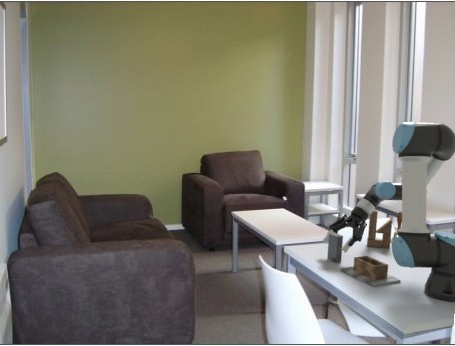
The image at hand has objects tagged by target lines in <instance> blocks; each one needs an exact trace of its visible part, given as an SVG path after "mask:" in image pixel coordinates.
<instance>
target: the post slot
mask: <svg viewBox="0 0 455 346" xmlns="http://www.w3.org/2000/svg"><path fill="white" fill-rule="evenodd" d="M388 271H389V264H388V263H386V262H384V261H380V260H378V259H376V258H373V257H371V256H369V255H363V256H356V257H354V259H353V266H349V267H341V268H340V272H343V273H345V274H346V275H348V276H351V277H353V278H354V279H357V280H359V281H361V282H362V283H365V284H367V285H368V286H370V287H373V288H375V287H381V286H387V285H392V284H398V283H401V281H402V280H401V279H400V278H398V277H395V276H394V275H391V274H389V273H388Z"/></svg>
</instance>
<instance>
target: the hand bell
mask: <svg viewBox="0 0 455 346" xmlns="http://www.w3.org/2000/svg"><path fill="white" fill-rule="evenodd" d="M396 222H397V230H395V231H394V233H393V236H392V237H391V241H390V244H392V239H393V237H394V236H396V235H398V230H399V229H400V228H401V226H402V211H399V212H398V213H397V217H396Z"/></svg>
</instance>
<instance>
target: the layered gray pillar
mask: <svg viewBox="0 0 455 346" xmlns="http://www.w3.org/2000/svg"><path fill="white" fill-rule="evenodd" d="M343 241H344V235H342V234H339V233H336V232H335V233H329V241H328V243H327V256H326V257H327V258H326V259H327V260H329V261H331V262H333V263H335V264H339V263H342V256H343V255H342V254H343V250H342V249H341V248H342V247H343V243H344V242H343Z"/></svg>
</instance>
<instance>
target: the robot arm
mask: <svg viewBox="0 0 455 346" xmlns="http://www.w3.org/2000/svg"><path fill="white" fill-rule="evenodd" d="M392 150H393V152H394V153H396V154H397V155H398V156H397V157H398V160H400V162H401V163H402V167H401V168H402V169H401V171H402V173H401V174H402V176H401V179H402V181H401V183H399V182H398V183H397V182H391V181H389V180H386V181H385V180H384V181H376V182H375V183H374V184H373V185H370V188H369V189H368V191H367V192H366V193H365V194H364V196H363V197H362V198H361V199H360V200H359V201H358V202H357V204H356V206H354V207H353V209H352V210H351V211H350V215H347V213H345V214H343V215H342V217H340V218H339V219H338V220H336V221H334V222H332V223H331V224H329V226H328V228H329V229H330V230H329V231H328V232H327V233H326V235H325V237H324V238H323V239H322V242H324V244H325V245H328V241H329V233H336V232H338V231H341V230H344V229H345V228H351V229H352V234H351V235H352V236H351V237H349V238H348V240H347V241H346V242H345V244H344V245H342V248H341V249H342V252H344V253H345V254H346V253H347V252H348V251H349V249H350V248H351V247H353V246H354V244H355V243H357V242H362V239H363V236H364V232H365V229H366V227H368V224H367V222H366V221H367V219H368V220H369V218H370V215H371V213H372V212H373V211H374V210H377V207H378V206H379V205H380V204H381V203H382V202H384V201H401V203H402V204H401V212H402V223H401V228H400V229H399V230H398V235H396V236H394V235H393V236H394V237H393V236H392V238H393V239H392V238H391V239H392V243H391V251H392V255H393V258H394V261H395V262H396V264H397V265H398V266H400V267H401V268H410V269H413V268H426V269H429V268H431V269H430V273H429V275H428V277H427V279H426V282H425V283H424V287H423V288H424V289H423V290H424V293H425V294H426V295H428V296H430V297H432V298H435V299H438V300H441V301H446V302H455V233H452V232H447V231H440V230H439V231H435V232H434V234H433V235H431V231H430V230H429V229H428V227H427V194H428V191H427V190H428V189H427V187H428V185H429V184H430V183H431V181H432V180H433V178H434V177H435V176H436V175H437V173H438V172H439V170H440V168H441V167H442V166H443V165H444V164H445V162H447V161H449V160H450V159H451V158H452V157H453V156H454V155H455V132H454V130H453V129H452V127H451V128H450V126H449V125H446V124H444V123H440V122H435V123H434V122H422V121H421V122H419V121H418V122H417V121H409V122H402V123H400V124H398V126H397V127H396V129H395V131H394V133H393V138H392Z"/></svg>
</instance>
